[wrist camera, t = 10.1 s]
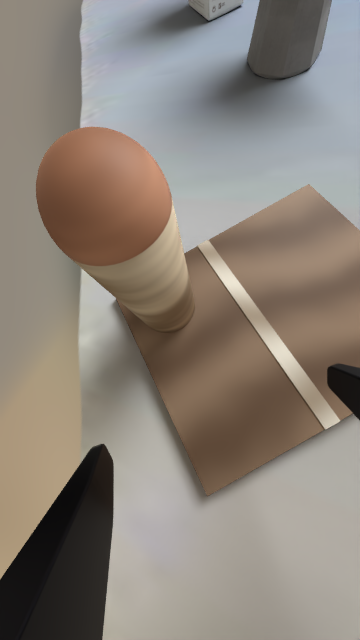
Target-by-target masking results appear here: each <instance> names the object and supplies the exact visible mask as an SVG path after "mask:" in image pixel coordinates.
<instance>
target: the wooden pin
mask: <svg viewBox="0 0 360 640" xmlns="http://www.w3.org/2000/svg"><path fill="white" fill-rule="evenodd" d="M36 197H37V204H38V209H39V212H40V215H41V218H42V221H43V223H44V226H45V227H46V229H47V231H48V233H49V234H50V236H51V238H52V239H53V240H54V242H55V243H56V244H57V246H58V247H59V248H60V249H61V250H62V251H63V252H64V253H65V254H66V255H67V256H68V257H70V258H71V259H72V260H73V261H74V262H75V263H76V264H78V265H79V266H80V267H81V268H82V269H83V270H84V271H86V272H87V273H88V274H89V275H90V276H91V277H93V278H94V279H95V280H96V281H97V282H98V283H99V284H101V285H102V286H103V287H104V288H105V289H106V290H108V291H109V292H110V293H111V294H112V295H113V296H114V297H116V298H117V299H118V300H119V301H120V302H121V303H122V304H124V305H125V306H126V307H127V308H128V309H129V310H131V311H132V312H133V313H134V314H135V315H136V316H137V317H139V318H140V319H141V320H142V321H143V322H144V323H146V324H147V325H148V326H149V327H150V328H152V329H153V330H155V331H157V332H161V333H171V332H175V331H178V330H180V329H182V328H183V327H184V326H186V325H187V324H188V323H189V321H190V320H191V318H192V316H193V314H194V310H195V300H194V296H193V291H192V287H191V282H190V278H189V273H188V269H187V264H186V260H185V255H184V251H183V246H182V242H181V237H180V233H179V228H178V224H177V219H176V215H175V210H174V206H173V201H172V197H171V193H170V189H169V186H168V183H167V181H166V179H165V176H164V174H163V172H162V170H161V169H160V167H159V165H158V164H157V162H156V161H155V160H154V158H153V157H152V156H151V155H150V154H149V153H148V151H146V150H145V149H144V148H143V147H142V146H141V145H140V144H139V143H137V142H136V141H135V140H133V139H132V138H130V137H128V136H126V135H125V134H122V133H120V132H117V131H115V130H111V129H108V128H101V127H85V128H80V129H76V130H73V131H71V132H68V133H67V134H65V135H63V136H62V137H60V138H59V139H58V140H57V141H55V142H54V143H53V145H52V146H51V147H50V148H49V149H48V150H47V152H46V153H45V155H44V157H43V159H42V162H41V164H40V166H39V170H38V175H37V181H36Z"/></svg>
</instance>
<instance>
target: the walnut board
mask: <svg viewBox="0 0 360 640" xmlns="http://www.w3.org/2000/svg"><path fill="white" fill-rule="evenodd" d="M184 255H185V260H186V264H187V269H188V273H189V278H190V282H191V287H192V291H193V296H194V300H195V310H194V314H193V316H192V318H191V320H190V321H189V323H188V324H187V325H186V326H184V327H183V328H182V329H180V330H178V331H175V332H171V333H161V332H157V331H155V330H153V329H152V328H150V327H149V326H148V325H147V324H146V323H144V322H143V321H142V320H141V319H140V318H139V317H137V316H136V315H135V314H134V313H133V312H132V311H131V310H129V309H128V308H127V307H126V306H125V305H124V304H122V303H121V302H120V301H119V300H118V299H117V298H116V300H117V302H118V304H119V306H120V308H121V310H122V313H123V315H124V317H125V319H126V321H127V323H128V326H129V328H130V330H131V332H132V334H133V336H134V339H135V341H136V343H137V345H138V347H139V349H140V352H141V354H142V356H143V358H144V360H145V362H146V365H147V367H148V369H149V371H150V373H151V375H152V378H153V380H154V382H155V384H156V386H157V388H158V391H159V393H160V395H161V397H162V399H163V401H164V404H165V406H166V408H167V410H168V412H169V414H170V417H171V419H172V421H173V423H174V425H175V427H176V430H177V432H178V434H179V436H180V438H181V440H182V443H183V445H184V447H185V449H186V451H187V453H188V456H189V458H190V460H191V462H192V464H193V466H194V469H195V471H196V473H197V475H198V477H199V479H200V482H201V484H202V486H203V488H204V490H205V492H206V495H207V496H209V495H211V494H212V493H214V492H216V491H218V490H219V489H221V488H223V487H225V486H226V485H228V484H230V483H232V482H233V481H235V480H237V479H239V478H240V477H242V476H244V475H246V474H247V473H249V472H251V471H253V470H254V469H256V468H258V467H260V466H261V465H263V464H265V463H267V462H268V461H270V460H272V459H274V458H275V457H277V456H279V455H281V454H282V453H284V452H286V451H288V450H290V449H291V448H293V447H295V446H297V445H298V444H300V443H302V442H304V441H305V440H307V439H309V438H311V437H312V436H314V435H316V434H318V433H319V432H321V431H323V430H326V429H328V428H329V427H331V426H333V425H335V424H336V423H338V422H340V420H342V419H344V418H346V417H347V416H349V415H351V414H353V413H352V412H351V411H350V410H349V408H348V407H347V406H346V405H345V404H344V403H343V402H342V401H341V400H340V399H339V398H338V397H337V396H336V395H335V394H334V393H333V392H332V391H331V390H330V388H329V387H328V384H327V368H328V367H329V366H331V365H334V364H337V363H340V364H345V365H350V366H354V367H359V368H360V230H359V229H358V228H356V227H355V226H354V225H353V224H352V223H351V222H350V221H349V220H348V219H347V218H345V217H344V216H343V215H342V214H341V213H340V212H339V211H338V210H337V209H336V208H335V207H333V206H332V205H331V204H330V203H329V202H328V201H327V200H326V199H325V198H324V197H322V196H321V195H320V194H319V193H318V192H317V191H316V190H315V189H314V188H313V187H312V186H310V185H309V184H308V185H306V186H305V187H303V188H301V189H299V190H297V191H296V192H294V193H292V194H290V195H288V196H287V197H285V198H283V199H281V200H279V201H278V202H276V203H274V204H272V205H271V206H269V207H267V208H265V209H263V210H262V211H260V212H258V213H256V214H254V215H253V216H251V217H249V218H247V219H245V220H244V221H242V222H240V223H238V224H236V225H235V226H233V227H231V228H229V229H228V230H226V231H224V232H222V233H220V234H219V235H217V236H215V237H213V238H211V239H210V240H207V241H205V242H203V243H201V244H199V245H198V246H197V247H195V248H193V249H192V250H190V251H188V252H186V253H184Z"/></svg>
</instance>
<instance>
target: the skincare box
mask: <svg viewBox="0 0 360 640" xmlns="http://www.w3.org/2000/svg"><path fill="white" fill-rule="evenodd" d="M242 3H243V0H189V5H190V6H191V7H192V8H194V9H195V10H196V11H197V12H199V13H200V14H201V15H202V16H204V17H205V18H206V19H207V20H208V21H210V20H212V19H215V18H217V17H219V16H221V15H223V14H225V13H227V12H229V11H231V10H232V9H234V8H236V7H238V6H240V5H241V4H242Z"/></svg>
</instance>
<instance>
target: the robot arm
mask: <svg viewBox="0 0 360 640" xmlns="http://www.w3.org/2000/svg"><path fill="white" fill-rule="evenodd" d="M327 384H328V387H329V388H330V390H331V391H332V392H333V393H334V394H335V395H336V396H337V397H338V398H339V399H340V400H341V401H342V402H343V403H344V404H345V405H346V406H347V407H348V408H349V410H350V411H351V412H352V413H353V414H354V415H355V416H356V417H357V418H358V419H359V420H360V368H359V367H354V366H350V365H345V364H340V363H337V364H334V365H331V366H329V367H328V368H327ZM113 483H114V466H113V460H112V457H111V455H110V453H109V451H108V449H107V448H106V446H105V445H104V444H100V445H97V446H94V447H92V448H91V449H90V451H89V452H88V454H87V455H86V457H85V458H84V459H83V461H82V462H81V464H80V465H79V467H78V468H77V470H76V471H75V472H74V474H73V475H72V477H71V478H70V480H69V481H68V482H67V484H66V486H65V487H64V488H63V490H62V491H61V493H60V494H59V495H58V497H57V498H56V500H55V501H54V503H53V504H52V506H51V507H50V508H49V510H48V511H47V513H46V514H45V516H44V517H43V519H42V520H41V521H40V523H39V524H38V526H37V527H36V529H35V530H34V532H33V533H32V534H31V536H30V537H29V539H28V540H27V542H26V543H25V545H24V546H23V547H22V549H21V551H20V552H19V553H18V555H17V556H16V558H15V559H14V561H13V562H12V563H11V565H10V566H9V568H8V569H7V571H6V572H5V573H4V575H3V576H2V578H1V579H0V640H102V636H103V625H104V614H105V603H106V593H107V582H108V571H109V560H110V549H111V538H112V528H113Z"/></svg>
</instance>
